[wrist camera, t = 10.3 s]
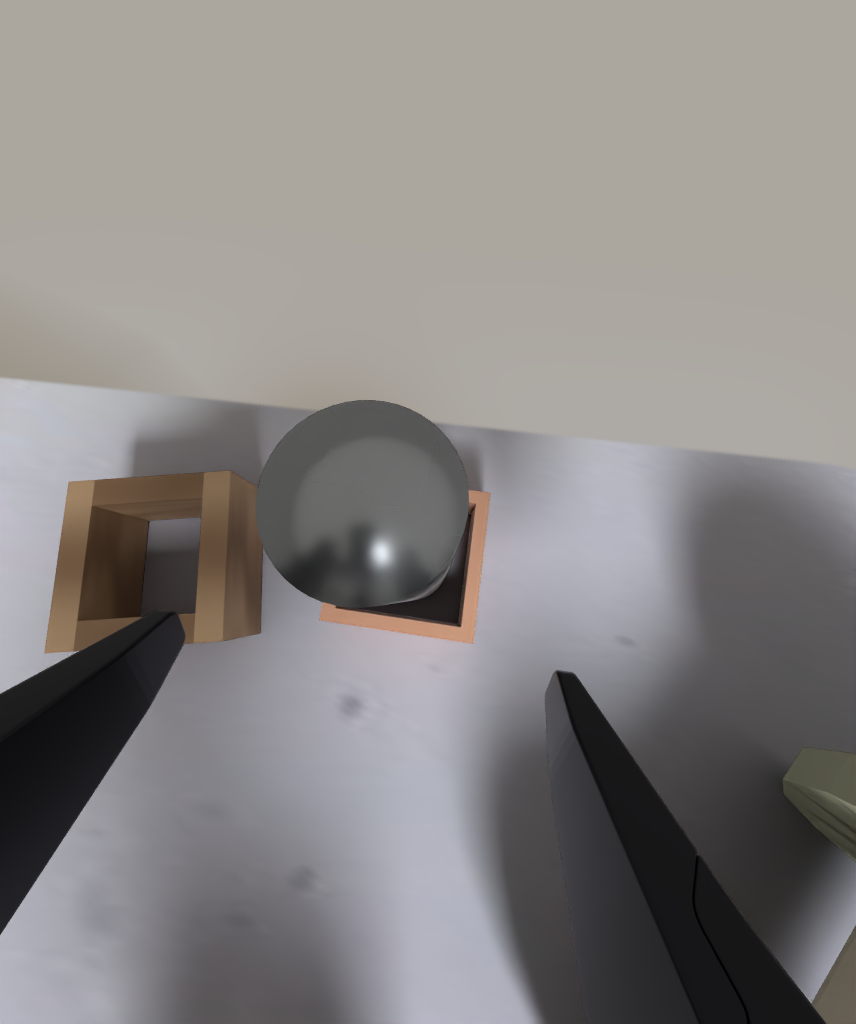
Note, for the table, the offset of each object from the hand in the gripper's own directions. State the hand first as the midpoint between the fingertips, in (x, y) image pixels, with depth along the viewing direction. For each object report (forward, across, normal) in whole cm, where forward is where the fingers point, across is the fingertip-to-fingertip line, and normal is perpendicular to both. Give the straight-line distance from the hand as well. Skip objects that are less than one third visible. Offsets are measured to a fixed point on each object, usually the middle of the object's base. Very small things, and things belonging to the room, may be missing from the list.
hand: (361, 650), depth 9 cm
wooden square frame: (+8, +11, +6) cm, 15 cm away
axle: (+10, 0, +5) cm, 11 cm away
